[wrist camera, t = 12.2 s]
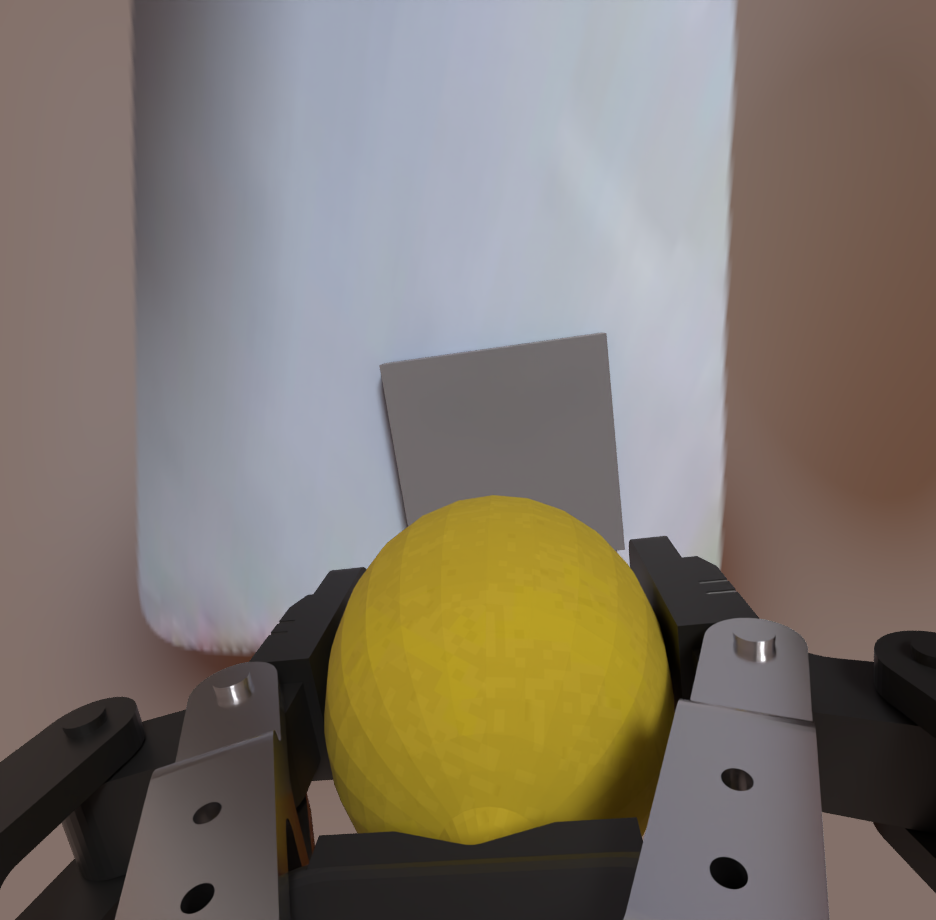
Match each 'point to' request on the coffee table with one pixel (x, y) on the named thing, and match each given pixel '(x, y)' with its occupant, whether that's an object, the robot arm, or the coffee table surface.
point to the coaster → (509, 429)
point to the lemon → (496, 679)
